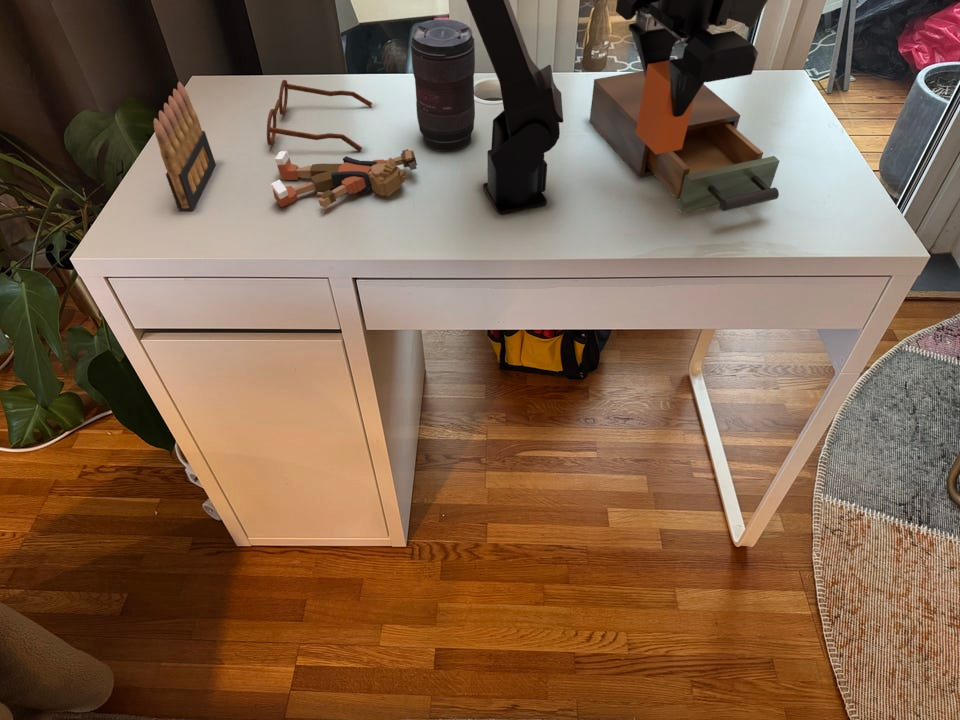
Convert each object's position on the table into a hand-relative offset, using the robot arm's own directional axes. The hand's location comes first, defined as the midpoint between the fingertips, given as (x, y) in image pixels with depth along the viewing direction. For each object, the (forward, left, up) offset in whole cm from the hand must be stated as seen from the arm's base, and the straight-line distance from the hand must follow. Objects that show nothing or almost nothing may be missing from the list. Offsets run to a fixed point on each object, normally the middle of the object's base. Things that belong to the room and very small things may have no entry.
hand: (665, 104), depth 80 cm
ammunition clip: (-54, +22, -13) cm, 59 cm away
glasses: (-36, +31, -13) cm, 49 cm away
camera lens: (-20, +22, -13) cm, 32 cm away
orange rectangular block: (0, 0, -5) cm, 5 cm away
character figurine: (-36, +15, -13) cm, 41 cm away
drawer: (+8, 0, -12) cm, 14 cm away
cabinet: (+8, +12, -13) cm, 19 cm away
